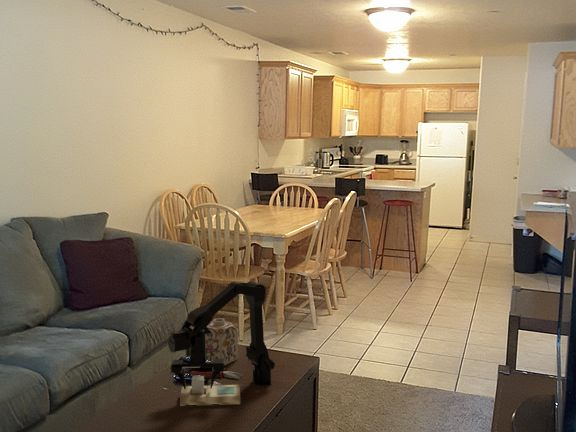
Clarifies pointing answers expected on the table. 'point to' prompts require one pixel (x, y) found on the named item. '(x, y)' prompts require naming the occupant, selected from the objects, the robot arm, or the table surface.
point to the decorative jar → (222, 341)
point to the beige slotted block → (211, 395)
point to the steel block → (197, 385)
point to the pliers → (223, 373)
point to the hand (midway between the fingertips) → (198, 388)
